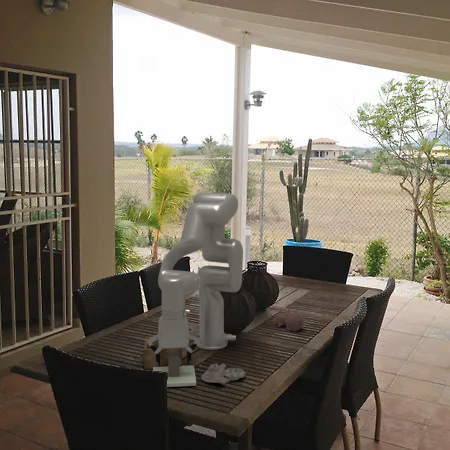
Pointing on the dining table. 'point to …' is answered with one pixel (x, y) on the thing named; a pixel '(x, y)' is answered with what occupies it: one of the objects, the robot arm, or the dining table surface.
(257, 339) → the dining table surface
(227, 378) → the fossil
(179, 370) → the lid
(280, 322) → the toy
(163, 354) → the walnut box
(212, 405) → the dining table surface
